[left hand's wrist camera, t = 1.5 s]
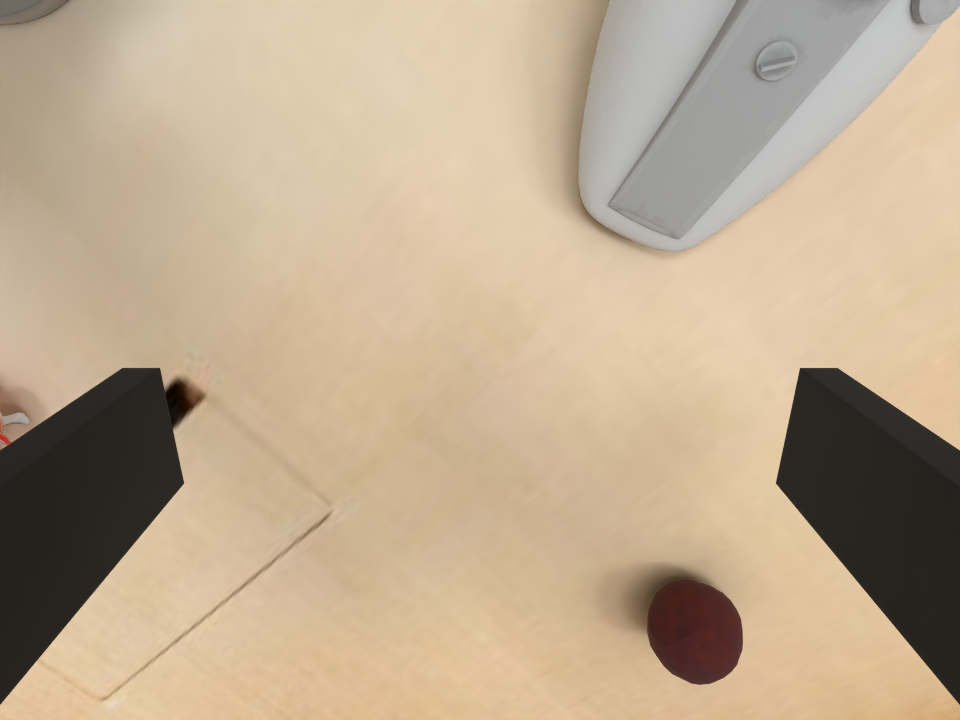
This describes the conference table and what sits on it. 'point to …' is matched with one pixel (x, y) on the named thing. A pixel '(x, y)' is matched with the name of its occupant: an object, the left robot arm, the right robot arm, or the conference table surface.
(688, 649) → the dark maroon round ball
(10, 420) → the fish
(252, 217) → the conference table surface
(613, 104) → the projector
